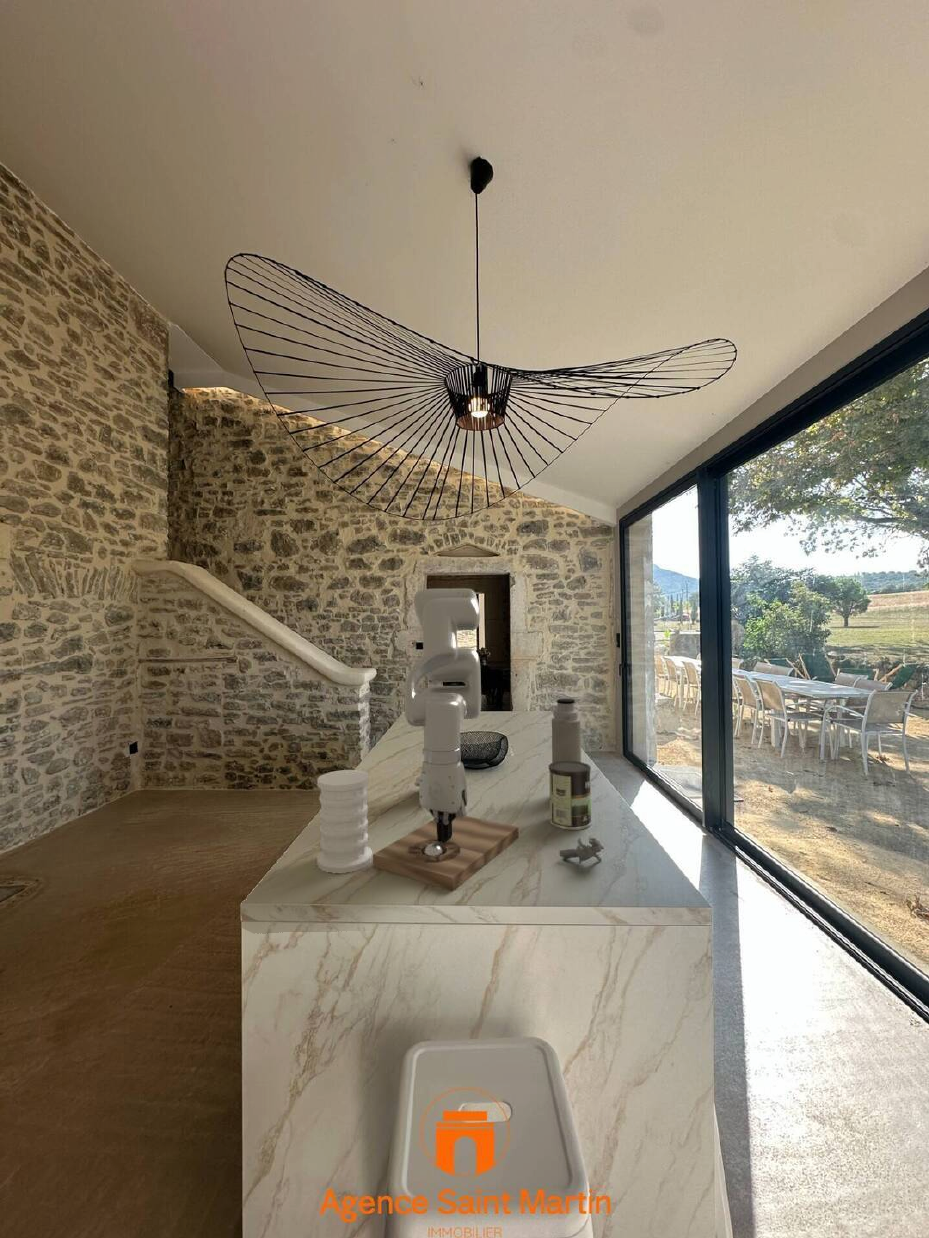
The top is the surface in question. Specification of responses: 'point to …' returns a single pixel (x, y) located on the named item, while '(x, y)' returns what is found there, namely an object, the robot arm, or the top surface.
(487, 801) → the top surface
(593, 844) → the grey toy figure
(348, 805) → the decorative container
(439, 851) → the ball
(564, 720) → the thermos bottle
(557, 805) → the coffee can
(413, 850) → the deck
